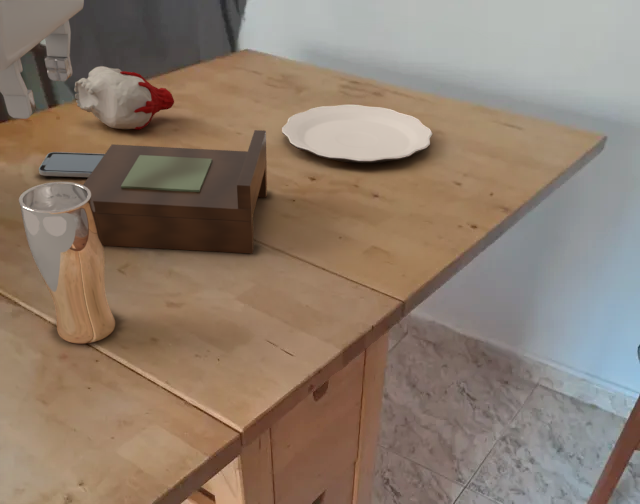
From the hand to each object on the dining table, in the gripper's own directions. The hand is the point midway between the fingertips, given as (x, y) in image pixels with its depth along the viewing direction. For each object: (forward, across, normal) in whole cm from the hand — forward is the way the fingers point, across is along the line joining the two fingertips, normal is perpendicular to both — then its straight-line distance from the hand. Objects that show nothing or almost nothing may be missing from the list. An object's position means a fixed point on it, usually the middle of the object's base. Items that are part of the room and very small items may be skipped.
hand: (43, 96), depth 59 cm
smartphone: (+24, -41, -12) cm, 49 cm away
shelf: (+24, -27, +4) cm, 36 cm away
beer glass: (+24, 0, -1) cm, 24 cm away
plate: (+24, -58, +28) cm, 69 cm away
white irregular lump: (+24, -60, -11) cm, 65 cm away
